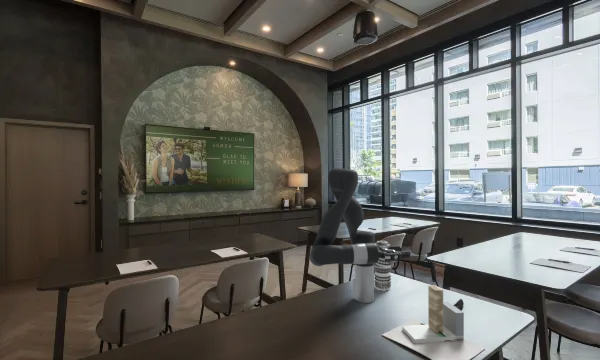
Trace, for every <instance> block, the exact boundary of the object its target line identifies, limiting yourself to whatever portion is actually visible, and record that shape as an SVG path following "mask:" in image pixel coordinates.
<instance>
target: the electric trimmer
mask: <svg viewBox="0 0 600 360" xmlns="http://www.w3.org/2000/svg"><path fill="white" fill-rule="evenodd" d="M452 305H453V306H455V307H456V308H458V309H459V310H461V311H462V309H463V307H464V299H462V298H460V299H458V300H457V301H456V302H455V303H453V304H452Z"/></svg>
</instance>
